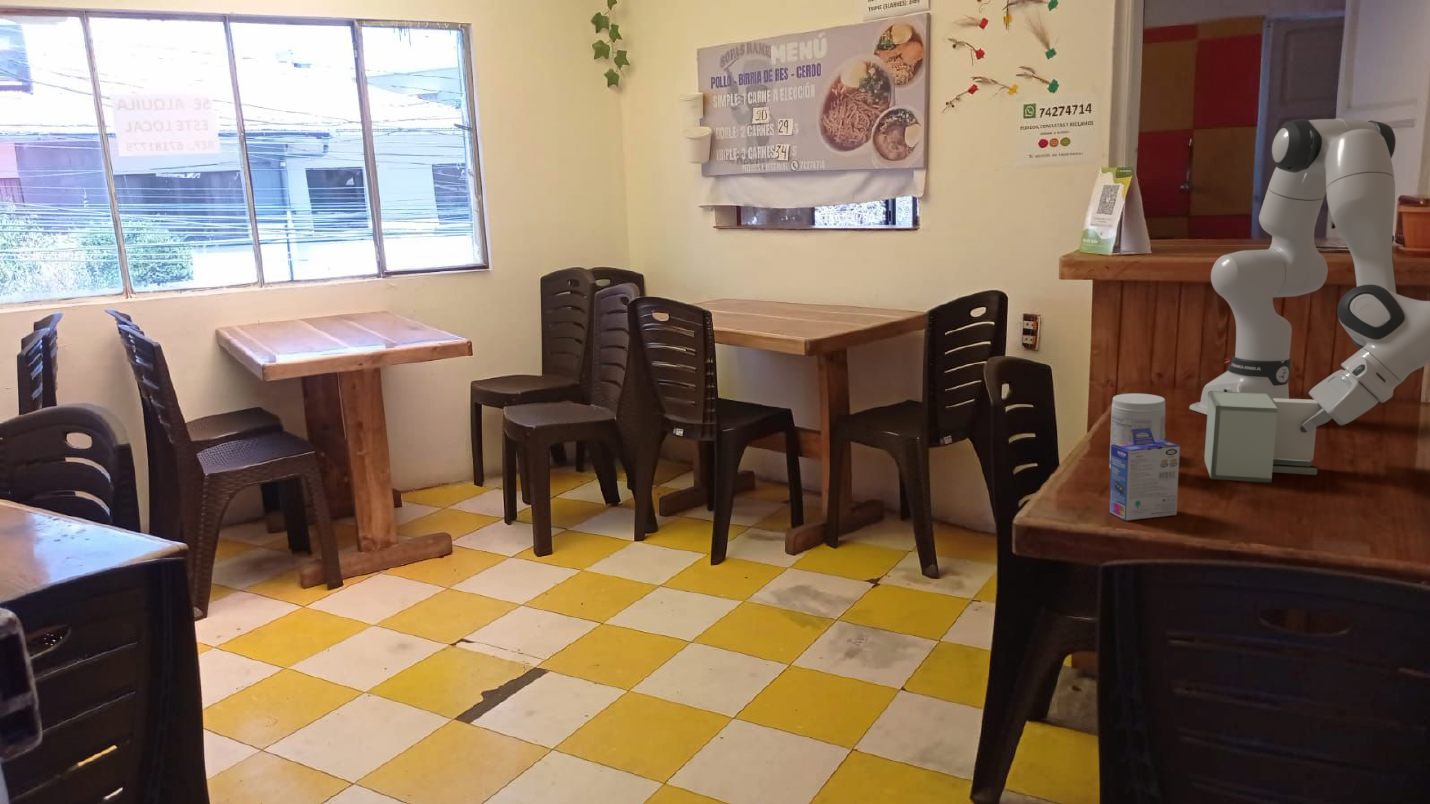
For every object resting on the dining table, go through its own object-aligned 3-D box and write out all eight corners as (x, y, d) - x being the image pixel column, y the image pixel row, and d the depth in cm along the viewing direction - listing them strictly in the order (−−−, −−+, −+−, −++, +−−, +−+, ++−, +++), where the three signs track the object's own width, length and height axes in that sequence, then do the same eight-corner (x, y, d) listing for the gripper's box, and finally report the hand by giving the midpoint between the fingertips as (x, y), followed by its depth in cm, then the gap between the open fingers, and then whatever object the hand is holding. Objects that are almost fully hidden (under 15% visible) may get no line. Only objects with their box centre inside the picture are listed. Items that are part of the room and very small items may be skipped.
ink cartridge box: (1157, 506, 170) (1162, 424, 167) (1178, 516, 165) (1184, 432, 162) (1106, 511, 168) (1110, 429, 165) (1125, 521, 163) (1130, 436, 160)
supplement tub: (1133, 463, 197) (1137, 390, 194) (1173, 474, 188) (1178, 398, 185) (1097, 470, 193) (1101, 396, 190) (1137, 482, 184) (1141, 405, 181)
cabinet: (1309, 464, 191) (1316, 394, 188) (1324, 486, 178) (1332, 410, 175) (1203, 458, 198) (1208, 390, 195) (1210, 478, 184) (1216, 405, 182)
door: (1309, 455, 189) (1314, 399, 187) (1313, 461, 185) (1318, 403, 183) (1268, 453, 192) (1272, 398, 190) (1271, 458, 188) (1276, 402, 186)
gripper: (1342, 354, 191) (1280, 402, 197) (1367, 373, 173) (1298, 424, 178) (1366, 378, 190) (1304, 424, 196) (1394, 399, 172) (1324, 450, 177)
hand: (1301, 425), depth 187 cm, fingers closed on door, 4 cm apart
